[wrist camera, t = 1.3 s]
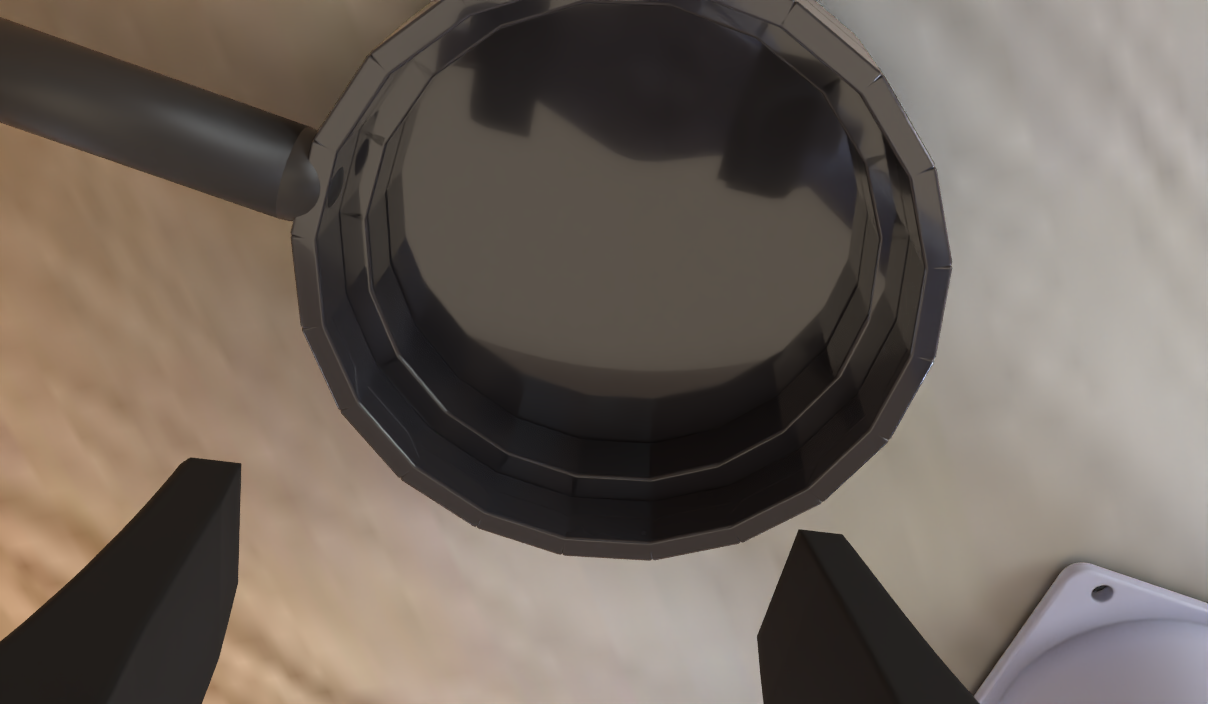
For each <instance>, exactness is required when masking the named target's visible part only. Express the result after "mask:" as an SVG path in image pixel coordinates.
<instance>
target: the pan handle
mask: <svg viewBox="0 0 1208 704" xmlns="http://www.w3.org/2000/svg"><path fill="white" fill-rule="evenodd" d="M0 123H3V124H6V125H9V126H12V127H15V128H18V129H21V130H24V131H27V132H29V133H32V134H35V135H38V136H41V137H44V138H47V139H50V140H53V141H56V142H58V143H61V144H64V145H67V146H70V147H73V148H76V149H79V150H82V151H85V152H87V153H90V154H93V155H96V156H99V157H102V158H105V159H108V160H111V161H114V162H116V163H119V164H122V165H125V166H128V167H131V168H134V169H137V170H140V171H143V172H145V173H148V174H151V175H154V176H157V177H160V178H163V179H166V180H169V181H172V182H174V183H177V184H180V185H183V186H186V187H189V188H192V189H195V190H198V191H201V192H203V193H206V194H209V195H212V196H215V197H218V198H221V199H224V200H227V201H230V202H233V203H235V204H238V205H241V206H244V207H247V208H250V209H253V210H256V211H259V212H262V213H264V214H267V215H270V216H273V217H276V218H279V219H283V220H287V221H293V220H294V218H296V217H299V216H301V215H304V214H306V213H308V212H309V211H310V210H311V209H312V208H313V207H314V206H315V205H316V203H317V201H318V199H319V196H320V181H319V178H318V174H317V172H316V170H315V169H314V167H313V166H312V164H311V163H310V162H309V160H308V155H309V151H310V146H311V142H312V141H313V140H314V136H315V134H316V133H317V130H315V129H313V128H311V127H309V126H306V125H303V124H300V123H297V122H295V121H292V120H289V119H286V118H283V117H281V116H278V115H275V114H272V113H269V112H266V111H264V110H261V109H258V108H255V107H252V106H249V105H247V104H244V103H241V102H238V101H235V100H233V99H230V98H227V97H224V96H221V95H218V94H216V93H213V92H210V91H207V90H204V89H201V88H199V87H196V86H193V85H190V84H187V83H185V82H182V81H179V80H176V79H173V78H170V77H168V76H165V75H162V74H159V73H156V72H153V71H151V70H148V69H145V68H142V67H139V66H137V65H134V64H131V63H128V62H125V61H122V60H120V59H117V58H114V57H111V56H108V55H106V54H103V53H100V52H97V51H94V50H91V49H89V48H86V47H83V46H80V45H77V44H74V43H72V42H69V41H66V40H63V39H60V38H58V37H55V36H52V35H49V34H46V33H43V32H41V31H38V30H35V29H32V28H29V27H26V26H24V25H21V24H18V23H15V22H12V21H10V20H7V19H4V18H1V17H0ZM343 179H344V170H343V167H341V168H340V169H339V171H338V173H337V175H336V177H335V180H334V182H333V185H332V188H331V191H330V195H329V200H328V207H329V208H330V207H331V206H332V205H333V204H334V203H335V201H336V200H337V198H338V196H339V195H340V192H341V190H342V186H343Z"/></svg>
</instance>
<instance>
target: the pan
mask: <svg viewBox="0 0 1208 704" xmlns="http://www.w3.org/2000/svg"><path fill="white" fill-rule="evenodd" d="M308 160H309V162H310V163H311V164H312V166H313V167H314V169H315V170H316V172H317V174H318V178H319V181H320V196H319V199H318V201H317V203H316V205H315V206H314V207H313V208H312V209H311V210H310V211H309V212H308V213H306V214H304V215H301V216H299V217H296V218H294V220H293V224H292V229H291V244H292V253H293V262H294V271H295V280H296V288H297V297H298V306H299V315H300V324H301V327H302V331H303V333H304V335H305V338H306V340H307V342H308V344H309V346H310V348H311V351H312V353H313V355H314V357H315V359H316V361H317V364H318V366H319V368H320V370H321V372H322V374H323V377H324V379H325V381H326V383H327V385H328V387H329V390H330V392H331V394H332V396H333V398H334V400H335V403H336V405H337V407H338V409H339V410H341V413H342V415H343V416H344V417H345V418H346V419H347V420H348V421H349V422H350V424H351V425H352V426H353V427H354V428H355V429H356V430H357V431H358V433H359V434H360V435H361V436H362V437H363V438H364V439H365V440H366V442H367V443H368V444H369V445H370V446H371V447H372V448H373V449H374V450H375V452H376V453H377V454H378V455H379V456H380V457H381V458H382V459H383V461H384V462H385V463H386V464H387V465H388V466H389V467H390V468H391V470H392V471H393V472H394V473H395V474H396V475H397V476H398V477H399V478H401V480H402V481H404V482H405V483H407V484H408V485H410V486H412V487H413V488H415V489H416V490H418V491H419V492H421V493H422V494H424V495H426V496H427V497H429V498H430V499H432V500H433V501H435V502H437V503H438V504H440V505H441V506H443V507H444V508H446V509H447V510H449V511H451V512H452V513H454V514H455V515H457V516H458V517H460V518H462V519H463V520H465V521H466V522H468V523H469V524H471V525H472V526H474V527H476V526H477V528H479V529H482V530H485V531H488V532H491V533H494V534H497V535H500V536H503V537H506V538H510V539H513V540H516V541H519V542H522V543H525V544H528V545H531V546H534V547H537V548H541V549H544V550H547V551H550V552H553V553H556V554H559V555H561V554H562V553H563V555H565V556H581V557H597V558H614V559H631V560H648V561H650V560H652V559H653V560H659V559H664V558H669V557H674V556H679V555H684V554H689V553H694V552H699V551H704V550H709V549H714V548H719V547H724V546H729V545H734V544H739V543H740V542H745V541H747V540H749V539H751V538H753V537H755V536H757V535H759V534H761V533H763V532H765V531H767V530H769V529H771V528H773V527H775V526H777V525H779V524H781V523H783V522H785V521H787V520H789V519H791V518H793V517H795V516H797V515H799V514H801V513H803V512H805V511H807V510H809V509H811V508H813V507H815V506H817V505H819V504H821V501H822V502H823V501H825V500H826V499H827V498H828V497H829V496H830V495H831V494H832V493H833V492H835V491H836V490H837V489H838V488H839V487H840V486H841V485H842V484H843V483H844V482H845V481H846V480H848V479H849V478H850V477H851V476H852V475H853V474H854V473H855V472H856V471H857V470H858V469H859V468H860V467H862V466H863V465H864V464H865V463H866V462H867V461H868V460H869V459H870V458H871V457H872V456H873V455H875V454H876V453H877V452H878V451H879V450H880V449H881V448H882V447H883V446H884V445H885V444H886V443H887V442H888V440H889V439H890V438H891V437H892V435H893V433H894V431H895V430H896V428H897V426H898V424H899V423H900V421H901V419H902V417H903V416H904V414H905V412H906V410H907V409H908V407H909V405H910V403H911V401H912V400H913V398H914V396H915V394H916V393H917V391H918V389H919V387H920V386H921V384H922V382H923V380H924V378H925V377H926V375H927V373H928V371H929V370H930V368H931V366H932V364H933V363H934V359H935V357H936V353H937V348H938V342H939V337H940V331H941V326H942V321H943V315H944V310H945V304H946V299H947V293H948V288H949V282H950V277H951V272H952V266H951V265H952V258H951V252H950V246H949V240H948V234H947V228H946V222H945V216H944V211H943V205H942V199H941V193H940V187H939V181H938V175H937V169H936V168H935V166H934V162H933V160H932V158H931V156H930V155H929V153H928V151H927V149H926V148H925V146H924V144H923V142H922V141H921V139H920V137H919V135H918V134H917V132H916V130H915V128H914V127H913V125H912V123H911V121H910V120H909V118H908V116H907V115H906V113H905V111H904V109H903V108H902V106H901V104H900V102H899V101H898V99H897V97H896V95H895V94H894V92H893V90H892V88H891V87H890V85H889V83H888V81H887V80H886V78H885V76H884V75H883V73H882V72H881V70H880V69H879V67H878V66H877V65H876V63H875V62H874V60H873V59H872V57H871V56H870V54H869V53H868V51H867V50H866V49H865V47H864V46H863V44H862V43H861V41H860V40H859V39H858V38H857V37H856V35H855V34H854V33H853V32H851V31H850V30H849V29H848V28H847V27H846V26H844V25H843V24H842V23H841V22H840V21H839V20H837V19H836V18H835V17H834V16H833V15H831V14H830V13H829V12H828V11H827V10H826V9H824V8H823V7H822V6H821V5H820V4H819V3H817V2H816V1H815V0H433V1H432V2H431V3H429V4H428V5H426V6H425V7H424V8H422V9H421V10H420V11H418V12H417V13H416V14H414V15H413V16H412V17H410V18H409V19H408V20H407V21H406V22H405V23H403V24H402V25H401V26H400V27H399V28H398V29H396V30H395V31H394V32H393V33H392V34H391V35H389V36H388V37H387V38H386V39H385V40H384V41H382V42H381V43H380V44H379V45H378V46H377V47H375V48H374V49H373V50H372V51H371V53H370V54H368V55H367V56H366V58H365V59H364V61H363V63H362V64H361V66H360V67H359V69H358V70H357V72H356V73H355V75H354V76H353V78H352V79H351V81H350V82H349V84H348V85H347V87H346V88H345V90H344V92H343V93H342V95H341V96H340V98H339V99H338V101H337V102H336V104H335V105H334V107H333V108H332V110H331V111H330V113H329V114H328V116H327V118H326V119H325V121H324V122H323V124H322V125H321V127H320V128H319V130H318V131H317V133H316V134H315V136H314V140H313V141H312V142H311V146H310V151H309V155H308ZM341 167H343V170H344V179H343V186H342V190H341V192H340V195H339V196H338V198H337V200H336V201H335V203H334V204H333V205H332V206H331V207H330V208H329V207H328V200H329V195H330V191H331V188H332V185H333V182H334V180H335V177H336V175H337V173H338V171H339V169H340V168H341Z"/></svg>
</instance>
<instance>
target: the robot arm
mask: <svg viewBox="0 0 1208 704" xmlns="http://www.w3.org/2000/svg"><path fill="white" fill-rule="evenodd" d="M240 491H241V463H233V462H224V461H216V460H207V459H199V458H189V459H187V460H186V461H184V462H183V463H181V464H180V465H179V466H178V468H177V469H176V470H175V471H174V472H173V474H172V475H171V476H170V477H169V478H168V480H167V481H166V482H165V483H164V484H163V485H162V487H161V488H160V489H159V490H158V491H157V492H156V493H155V495H154V496H153V497H152V498H151V499H150V500H149V501H148V502H147V504H146V505H145V506H144V507H143V508H142V509H141V510H140V511H139V512H138V513H137V514H136V516H135V517H134V518H133V519H132V520H131V521H130V522H129V523H128V524H127V525H126V526H125V527H124V528H123V529H122V530H121V531H120V532H119V533H118V534H117V535H116V536H115V537H114V538H113V539H112V540H111V541H110V542H109V543H108V544H107V545H106V546H105V547H104V548H103V549H102V550H101V551H100V552H99V553H98V554H97V555H96V556H95V557H94V558H93V559H92V560H91V561H90V562H89V563H88V564H87V565H86V566H85V567H84V568H83V569H82V570H81V571H80V572H79V573H78V574H77V575H76V576H75V577H74V578H73V579H72V580H71V581H70V582H68V583H67V584H66V585H65V586H64V587H63V588H62V589H61V590H59V591H58V592H57V593H56V594H55V595H54V596H53V597H52V598H50V599H49V600H48V601H47V602H46V603H45V604H44V605H43V606H42V607H40V608H39V609H38V610H37V611H36V612H35V613H34V614H33V615H31V616H30V617H29V618H28V619H27V620H26V621H25V622H23V623H22V624H21V625H20V626H19V627H17V628H16V629H15V630H14V631H13V632H11V633H10V634H9V635H8V636H7V637H5V638H4V639H3V640H2V641H0V704H202V702H203V699H204V696H205V694H206V691H207V688H208V686H209V683H210V680H211V678H212V675H213V672H214V670H215V667H216V664H217V662H218V659H219V656H220V652H221V648H222V644H223V640H224V637H225V633H226V629H227V625H228V621H229V617H230V613H231V609H232V605H233V601H234V597H235V593H236V589H237V585H238V562H239V526H240ZM1101 585H1106V586H1107V587H1106V588H1104V589H1103V590H1101V591H1098V592H1093V591H1092V590H1094V589H1095V588H1096V587H1098V586H1101ZM757 641H758V652H759V664H760V675H761V684H762V693H763V702H764V704H1208V603H1206V602H1203V601H1200V600H1197V599H1194V598H1191V597H1188V596H1185V595H1182V594H1179V593H1176V592H1173V591H1170V590H1167V589H1164V588H1162V587H1159V586H1156V585H1153V584H1150V583H1147V582H1144V581H1141V580H1138V579H1135V578H1132V577H1129V576H1126V575H1123V574H1120V573H1117V572H1114V571H1111V570H1108V569H1105V568H1102V567H1099V566H1096V565H1094V564H1091V563H1085V562H1079V563H1073V564H1071V565H1069V566H1067V567H1066V568H1065V569H1064V570H1063V571H1062V572H1061V573H1060V574H1059V576H1058V577H1057V578H1056V580H1055V581H1054V583H1053V584H1052V585H1051V587H1050V588H1049V590H1048V591H1047V593H1046V594H1045V595H1044V597H1043V598H1042V600H1041V601H1040V603H1039V604H1038V605H1037V607H1036V608H1035V610H1034V611H1033V613H1032V614H1031V615H1030V617H1029V618H1028V620H1027V621H1026V622H1025V624H1024V625H1023V627H1022V628H1021V630H1020V631H1019V632H1018V634H1017V635H1016V637H1015V638H1014V640H1013V641H1012V642H1011V644H1010V645H1009V647H1008V648H1007V650H1006V651H1005V652H1004V654H1003V655H1002V657H1001V658H1000V660H999V661H998V662H997V664H996V665H995V667H994V668H993V669H992V671H991V672H990V674H989V675H988V677H987V678H986V679H985V681H984V682H983V684H982V685H981V687H980V688H979V689H978V691H977V692H976V694H975V695H974V697H973V695H972V694H971V693H970V692H969V691H968V690H967V689H966V688H965V687H964V686H963V684H962V683H961V682H960V681H959V680H958V679H957V678H956V676H955V675H954V674H953V673H952V672H951V671H950V669H949V668H948V667H947V666H946V665H945V664H944V662H943V661H942V660H941V659H940V658H939V656H938V655H937V654H936V653H935V652H934V650H933V649H932V648H931V647H930V646H929V644H928V643H927V642H926V641H925V639H924V638H923V637H922V636H921V634H920V633H919V632H918V631H917V629H916V628H915V627H914V626H913V624H912V623H911V622H910V621H909V619H908V618H907V617H906V616H905V614H904V613H903V612H902V611H901V609H900V608H899V607H898V605H897V604H896V603H895V601H894V600H893V599H892V598H891V596H890V595H889V594H888V592H887V591H886V590H885V589H884V587H883V586H882V585H881V583H880V582H879V581H878V579H877V578H876V577H875V576H874V574H873V573H872V572H871V570H870V569H869V568H868V566H867V565H866V564H865V562H864V561H863V560H862V559H861V557H860V556H859V555H858V553H857V552H856V551H855V550H854V548H853V547H852V546H851V545H850V543H849V542H848V541H847V540H846V538H845V537H844V536H843V535H842V534H833V533H825V532H816V531H808V530H798V533H797V535H796V538H795V541H794V543H793V546H792V548H791V551H790V553H789V556H788V558H787V561H786V564H785V566H784V569H783V571H782V574H781V576H780V579H779V581H778V584H777V587H776V589H775V592H774V594H773V597H772V599H771V602H770V605H769V607H768V610H767V612H766V615H765V617H764V620H763V622H762V625H761V628H760V630H759V633H758V635H757Z"/></svg>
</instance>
